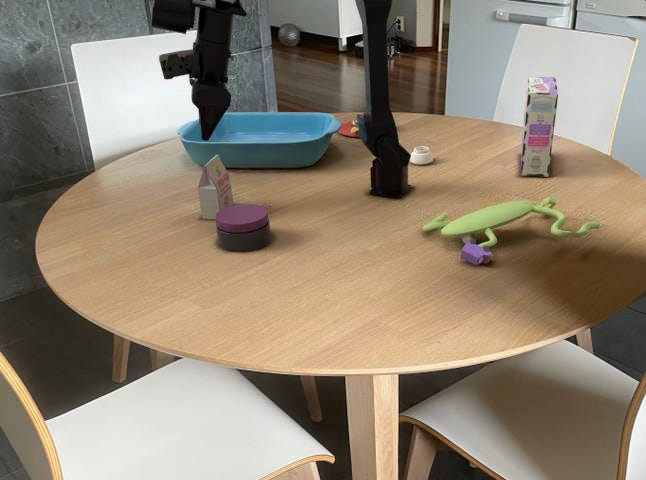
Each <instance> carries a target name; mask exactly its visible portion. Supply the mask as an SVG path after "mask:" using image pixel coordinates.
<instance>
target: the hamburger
mask: <svg viewBox="0 0 646 480" xmlns="http://www.w3.org/2000/svg"><path fill="white" fill-rule="evenodd" d="M360 114H361V115H364V112H360ZM358 130H359V125H358V120H357V117H356V118H355V119H354V120H351V121H346V122H343V123H342V126H341V128H340V130H339V131H338V132H337V133H339V134H340V135H343V136H347V137H356V138H359V136H358V135H357V133H358Z"/></svg>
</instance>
